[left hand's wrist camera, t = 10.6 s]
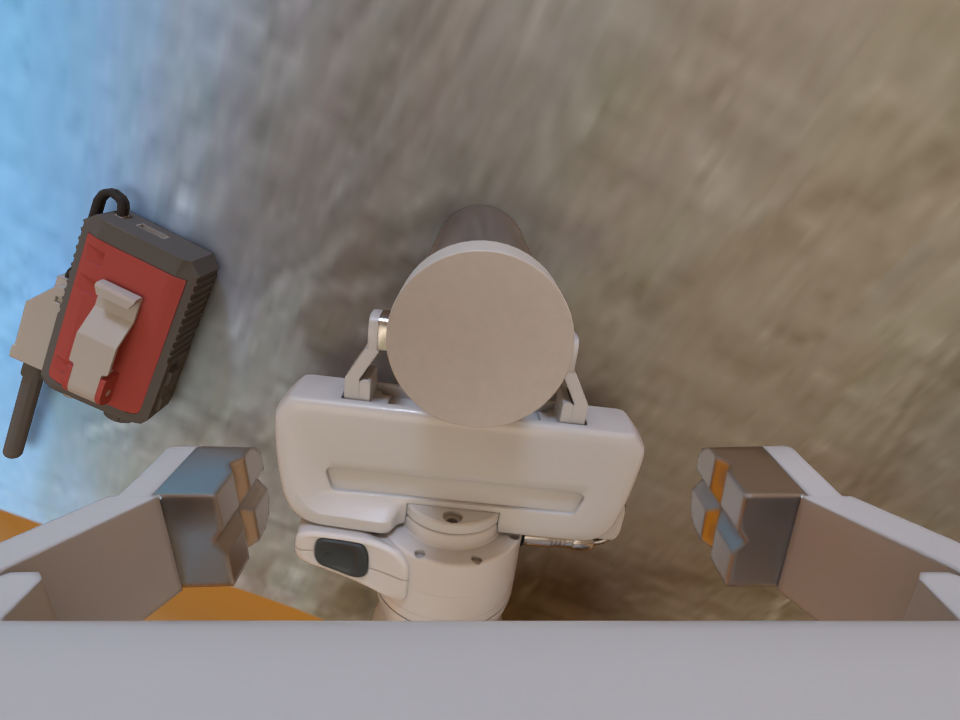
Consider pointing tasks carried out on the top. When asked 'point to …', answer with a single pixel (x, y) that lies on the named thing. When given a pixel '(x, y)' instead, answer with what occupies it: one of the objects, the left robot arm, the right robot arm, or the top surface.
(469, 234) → the dark grey cylinder
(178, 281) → the walkie-talkie
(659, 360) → the top surface
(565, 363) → the lid
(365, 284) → the top surface
